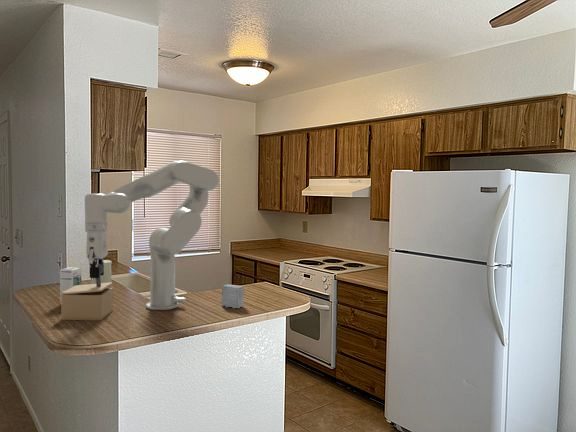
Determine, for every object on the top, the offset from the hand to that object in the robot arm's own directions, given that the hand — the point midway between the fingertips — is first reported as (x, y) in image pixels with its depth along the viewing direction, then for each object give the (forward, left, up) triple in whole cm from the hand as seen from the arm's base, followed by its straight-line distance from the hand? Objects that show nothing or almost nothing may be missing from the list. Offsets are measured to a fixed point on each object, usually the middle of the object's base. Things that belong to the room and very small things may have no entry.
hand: (96, 276), depth 176 cm
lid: (+3, 0, -5) cm, 6 cm away
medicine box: (-49, -14, -15) cm, 54 cm away
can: (+15, -53, -15) cm, 57 cm away
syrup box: (+16, -16, -15) cm, 27 cm away
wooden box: (+3, 0, -15) cm, 15 cm away
